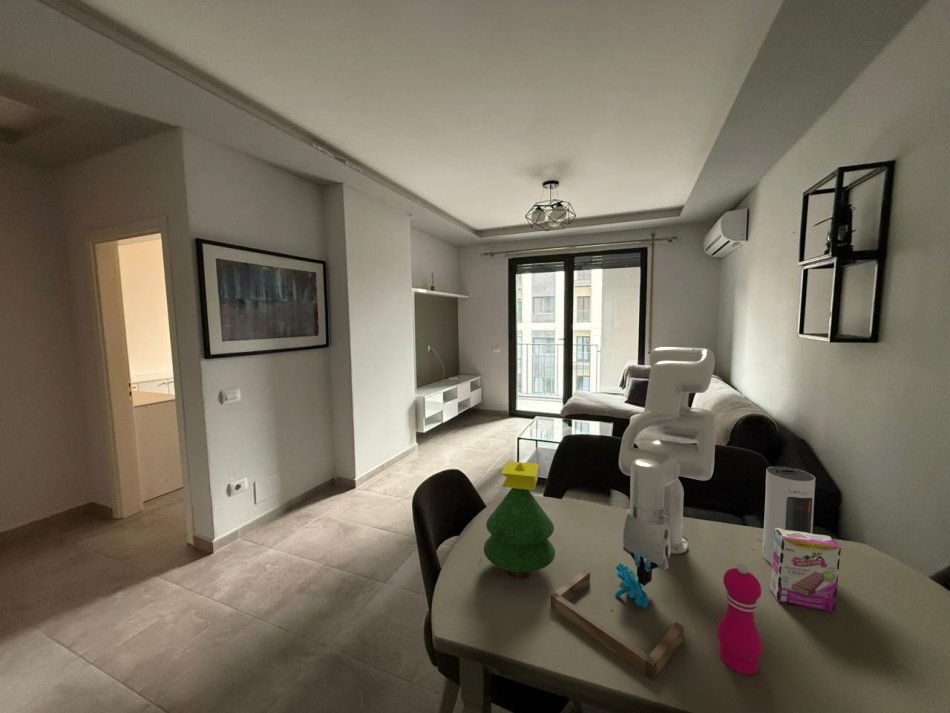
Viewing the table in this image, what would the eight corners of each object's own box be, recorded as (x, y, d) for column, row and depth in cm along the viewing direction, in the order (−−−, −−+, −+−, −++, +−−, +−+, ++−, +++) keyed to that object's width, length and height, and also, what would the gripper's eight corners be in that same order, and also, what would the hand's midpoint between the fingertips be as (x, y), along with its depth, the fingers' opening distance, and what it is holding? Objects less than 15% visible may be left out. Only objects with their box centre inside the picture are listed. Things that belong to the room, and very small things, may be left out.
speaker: (768, 568, 101) (773, 475, 99) (755, 547, 110) (760, 462, 108) (817, 578, 97) (824, 481, 95) (800, 555, 107) (806, 467, 104)
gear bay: (584, 580, 97) (584, 569, 97) (683, 639, 78) (683, 626, 78) (550, 607, 88) (550, 595, 88) (652, 680, 69) (653, 665, 69)
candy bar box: (777, 603, 88) (781, 537, 87) (769, 589, 93) (772, 526, 92) (837, 614, 85) (842, 546, 83) (824, 599, 89) (829, 534, 88)
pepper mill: (707, 646, 77) (712, 554, 75) (740, 643, 77) (745, 552, 76) (735, 679, 70) (740, 578, 68) (770, 675, 70) (776, 575, 69)
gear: (650, 614, 83) (618, 573, 87) (630, 626, 85) (599, 585, 88) (651, 589, 93) (622, 553, 97) (632, 601, 95) (604, 565, 98)
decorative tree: (475, 587, 94) (474, 473, 92) (492, 545, 113) (491, 448, 110) (552, 602, 89) (553, 481, 87) (556, 554, 108) (557, 454, 105)
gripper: (685, 517, 87) (682, 591, 89) (624, 495, 99) (623, 561, 100) (671, 528, 82) (669, 606, 84) (610, 504, 94) (608, 573, 95)
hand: (644, 581), depth 92 cm, fingers closed
